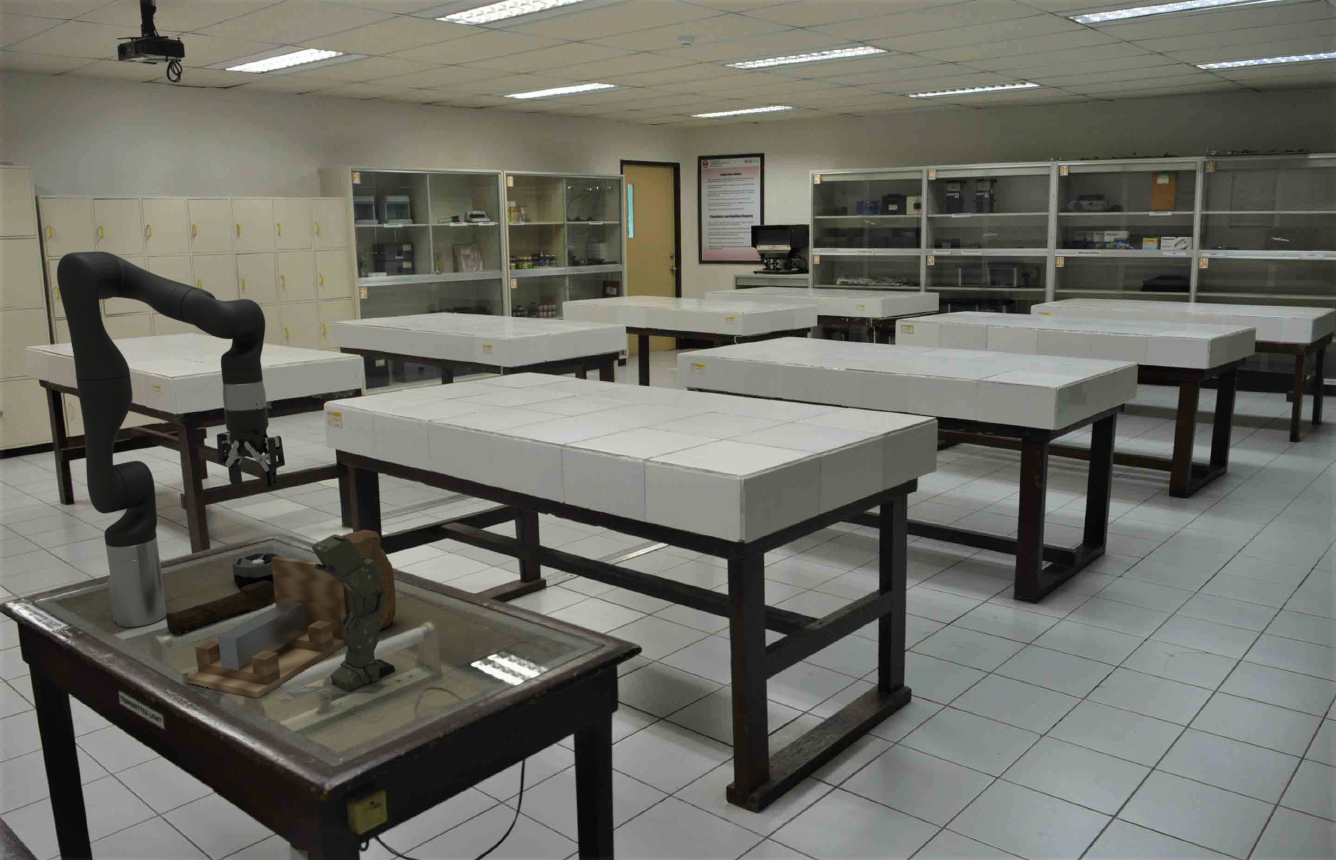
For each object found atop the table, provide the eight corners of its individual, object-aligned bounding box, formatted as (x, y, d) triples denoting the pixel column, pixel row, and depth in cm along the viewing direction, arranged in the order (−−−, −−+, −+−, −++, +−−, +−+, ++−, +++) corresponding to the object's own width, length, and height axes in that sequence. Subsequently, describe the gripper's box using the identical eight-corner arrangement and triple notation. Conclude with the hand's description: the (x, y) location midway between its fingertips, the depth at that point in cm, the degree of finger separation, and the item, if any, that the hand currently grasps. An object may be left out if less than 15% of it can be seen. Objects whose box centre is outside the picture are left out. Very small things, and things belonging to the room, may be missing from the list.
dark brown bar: (176, 639, 191) (172, 613, 190) (166, 632, 194) (163, 606, 193) (285, 605, 208) (282, 581, 207) (274, 600, 211) (272, 576, 210)
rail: (221, 667, 172) (217, 635, 170) (290, 630, 187) (287, 600, 186) (239, 670, 170) (235, 638, 169) (306, 632, 186) (303, 603, 184)
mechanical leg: (392, 651, 182) (348, 518, 171) (414, 661, 178) (371, 525, 167) (333, 692, 173) (282, 554, 162) (355, 703, 169) (304, 563, 158)
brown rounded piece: (351, 641, 189) (343, 544, 184) (334, 630, 194) (325, 535, 190) (402, 625, 196) (394, 531, 192) (384, 615, 201) (376, 523, 197)
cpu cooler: (284, 560, 219) (237, 569, 213) (287, 584, 220) (239, 594, 215) (274, 548, 227) (228, 557, 222) (276, 571, 228) (230, 580, 223)
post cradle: (187, 683, 172) (176, 599, 169) (283, 632, 193) (275, 556, 190) (257, 698, 166) (248, 611, 163) (348, 643, 188) (341, 565, 184)
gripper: (201, 406, 183) (210, 488, 187) (259, 410, 178) (268, 495, 182) (231, 399, 190) (240, 479, 194) (289, 403, 185) (296, 485, 189)
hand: (254, 486), depth 188 cm, fingers open, 8 cm apart
